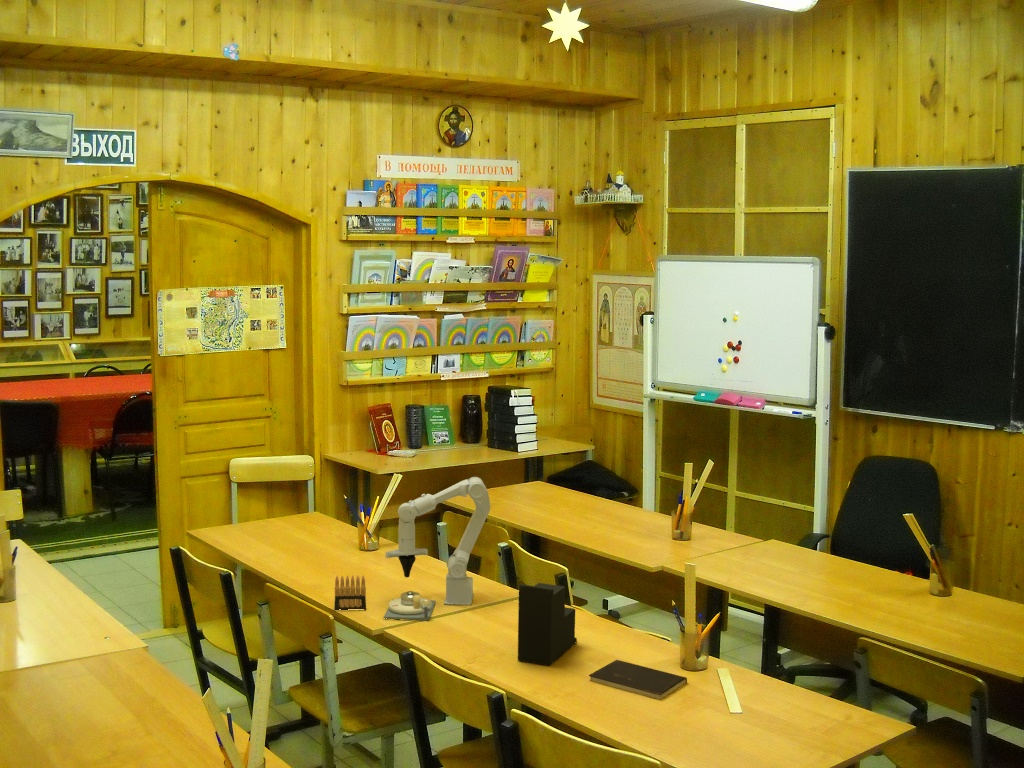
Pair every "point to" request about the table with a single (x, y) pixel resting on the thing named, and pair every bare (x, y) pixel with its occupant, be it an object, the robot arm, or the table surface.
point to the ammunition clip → (350, 594)
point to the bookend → (544, 623)
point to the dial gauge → (426, 607)
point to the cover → (408, 598)
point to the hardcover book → (638, 679)
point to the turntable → (402, 609)
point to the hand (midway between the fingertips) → (406, 576)
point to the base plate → (417, 617)
